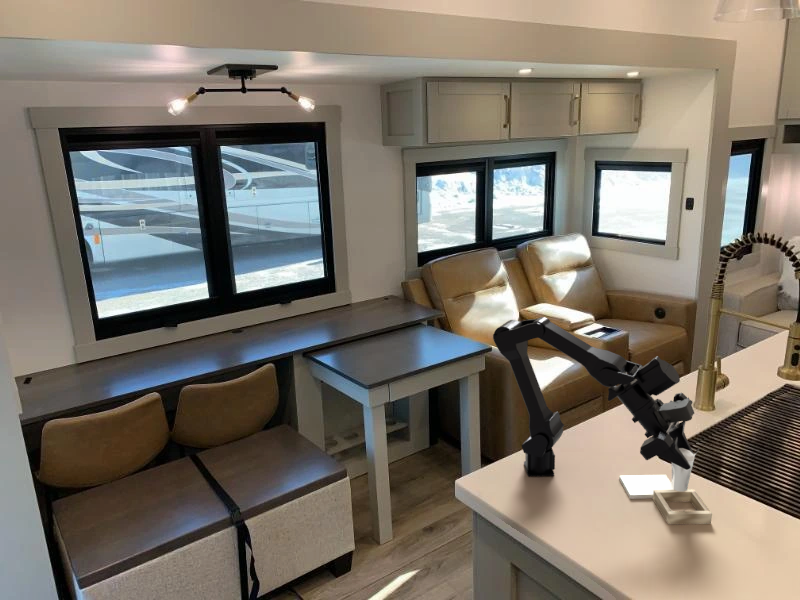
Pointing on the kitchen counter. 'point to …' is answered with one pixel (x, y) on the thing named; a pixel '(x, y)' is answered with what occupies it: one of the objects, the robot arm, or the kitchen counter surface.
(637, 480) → the pad
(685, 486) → the milkshake
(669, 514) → the holder
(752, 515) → the kitchen counter surface
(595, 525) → the kitchen counter surface
